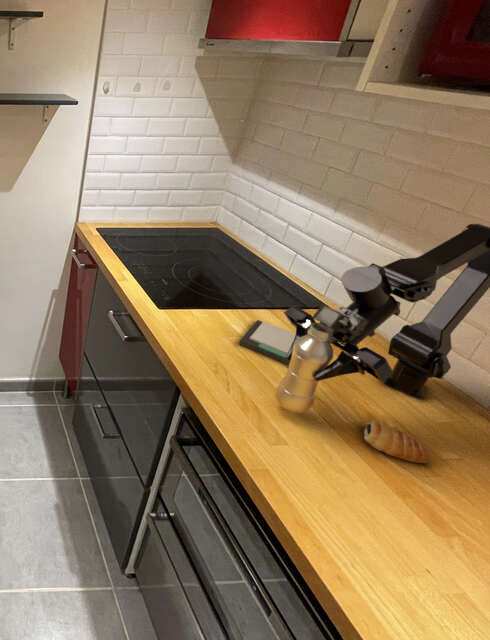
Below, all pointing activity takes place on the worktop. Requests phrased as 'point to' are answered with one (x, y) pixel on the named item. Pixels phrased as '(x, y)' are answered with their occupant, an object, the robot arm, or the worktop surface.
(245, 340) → the scale
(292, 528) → the worktop surface
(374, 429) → the pastry
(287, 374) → the plastic bottle
